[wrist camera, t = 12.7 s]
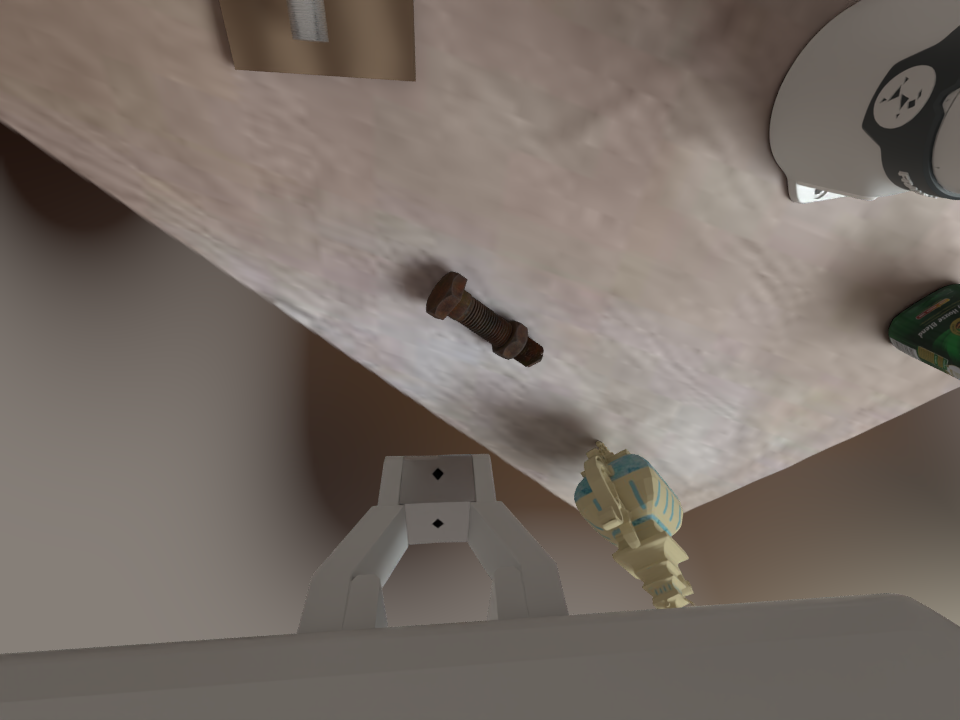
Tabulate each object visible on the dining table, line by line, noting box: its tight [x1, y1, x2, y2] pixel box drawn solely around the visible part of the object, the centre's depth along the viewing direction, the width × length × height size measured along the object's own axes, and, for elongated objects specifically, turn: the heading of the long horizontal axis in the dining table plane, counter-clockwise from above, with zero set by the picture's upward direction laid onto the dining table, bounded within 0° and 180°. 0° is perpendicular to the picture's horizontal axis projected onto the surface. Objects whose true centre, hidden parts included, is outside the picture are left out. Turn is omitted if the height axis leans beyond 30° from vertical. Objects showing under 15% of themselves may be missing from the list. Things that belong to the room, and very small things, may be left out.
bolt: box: [426, 272, 544, 367], centre depth 46 cm, size 6×5×15 cm
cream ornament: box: [574, 441, 696, 609], centre depth 51 cm, size 24×12×30 cm, turn 38°
